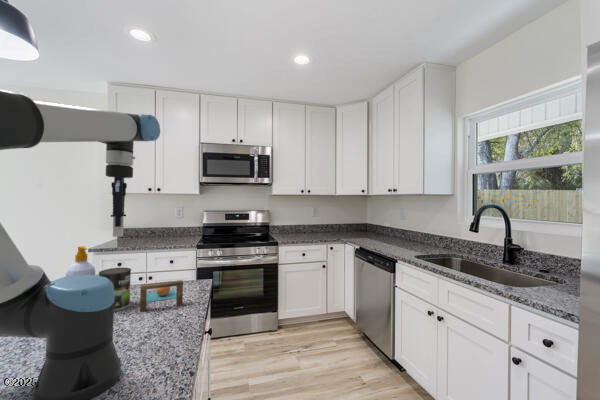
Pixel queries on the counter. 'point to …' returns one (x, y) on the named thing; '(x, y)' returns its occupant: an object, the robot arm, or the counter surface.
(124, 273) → the coffee can
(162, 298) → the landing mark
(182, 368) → the counter surface
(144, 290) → the bridge
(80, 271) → the soap bottle
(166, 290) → the ball
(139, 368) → the counter surface
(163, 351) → the counter surface
